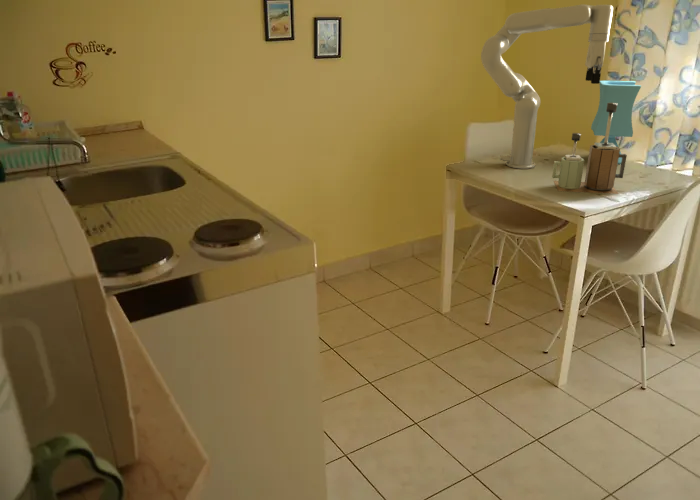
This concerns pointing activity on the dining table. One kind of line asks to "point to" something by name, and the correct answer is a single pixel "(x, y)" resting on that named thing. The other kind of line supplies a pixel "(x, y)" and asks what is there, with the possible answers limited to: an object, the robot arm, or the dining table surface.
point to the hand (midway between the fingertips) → (592, 82)
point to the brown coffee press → (603, 167)
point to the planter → (622, 118)
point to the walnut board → (584, 189)
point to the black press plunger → (609, 120)
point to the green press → (569, 171)
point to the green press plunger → (575, 141)
